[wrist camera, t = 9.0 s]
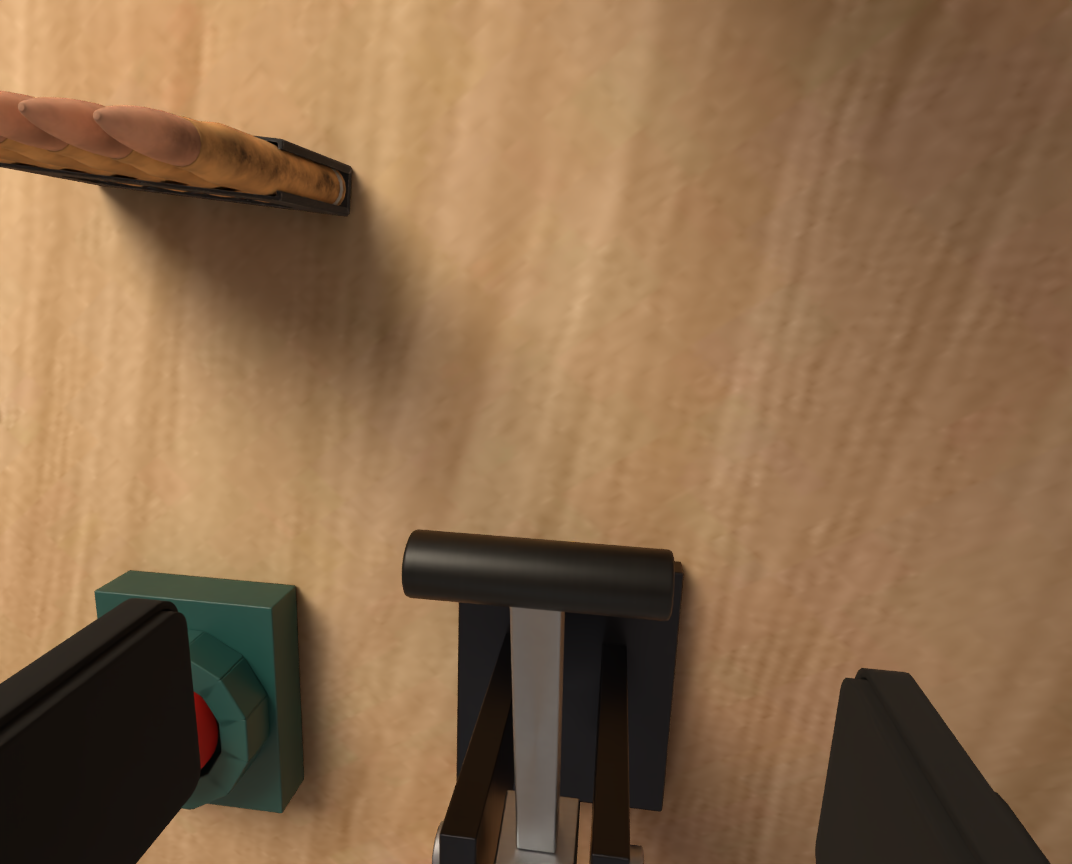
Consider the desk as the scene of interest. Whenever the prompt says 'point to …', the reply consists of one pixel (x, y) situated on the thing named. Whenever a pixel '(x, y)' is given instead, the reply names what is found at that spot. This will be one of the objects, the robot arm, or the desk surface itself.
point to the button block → (236, 680)
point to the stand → (565, 727)
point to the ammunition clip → (166, 155)
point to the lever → (538, 650)
